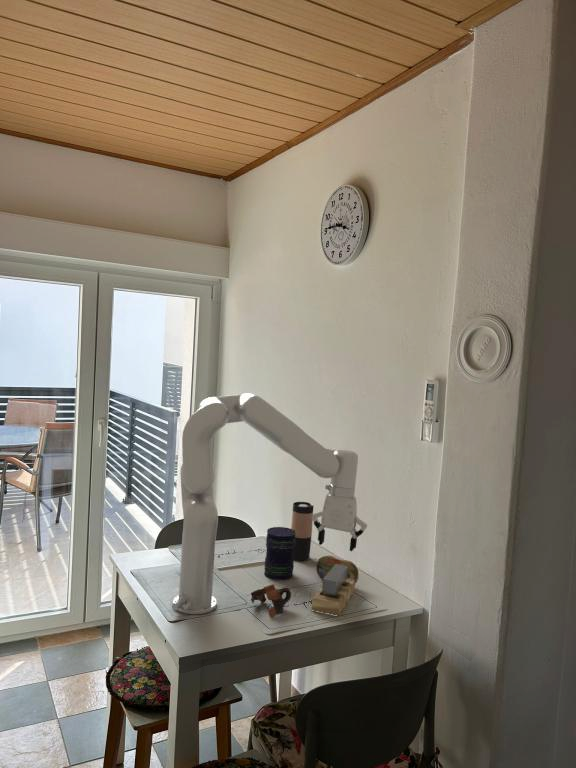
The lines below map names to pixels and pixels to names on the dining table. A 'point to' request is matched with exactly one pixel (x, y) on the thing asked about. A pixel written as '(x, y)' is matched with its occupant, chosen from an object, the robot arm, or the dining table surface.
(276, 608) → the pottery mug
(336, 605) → the light brown long block
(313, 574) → the dining table surface
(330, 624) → the dining table surface
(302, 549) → the travel mug
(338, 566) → the clip
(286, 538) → the storage jar
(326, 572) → the tin
